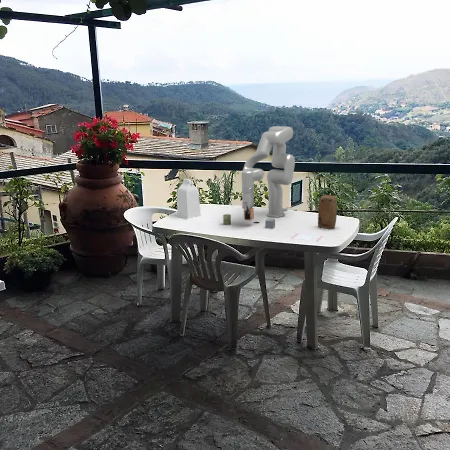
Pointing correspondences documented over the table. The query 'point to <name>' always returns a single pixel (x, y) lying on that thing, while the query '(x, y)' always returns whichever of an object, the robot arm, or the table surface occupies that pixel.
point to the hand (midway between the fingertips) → (248, 217)
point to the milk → (188, 200)
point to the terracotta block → (250, 214)
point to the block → (327, 211)
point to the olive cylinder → (227, 219)
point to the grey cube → (270, 223)
